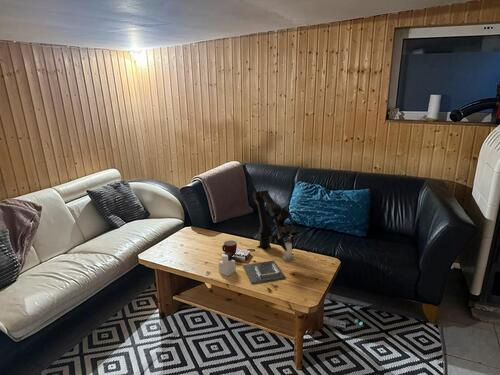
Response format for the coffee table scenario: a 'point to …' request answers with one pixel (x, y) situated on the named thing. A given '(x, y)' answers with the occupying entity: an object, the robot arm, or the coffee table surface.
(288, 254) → the beige flared base peg
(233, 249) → the mug
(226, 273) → the medicine bottle
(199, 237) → the coffee table surface
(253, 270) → the keeper board
